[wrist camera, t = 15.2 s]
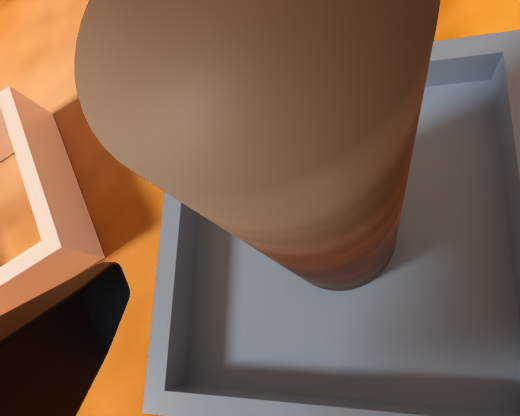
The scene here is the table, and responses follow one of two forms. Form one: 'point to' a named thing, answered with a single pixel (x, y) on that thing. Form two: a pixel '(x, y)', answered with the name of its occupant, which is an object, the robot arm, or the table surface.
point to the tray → (372, 294)
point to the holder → (44, 204)
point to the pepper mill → (267, 117)
